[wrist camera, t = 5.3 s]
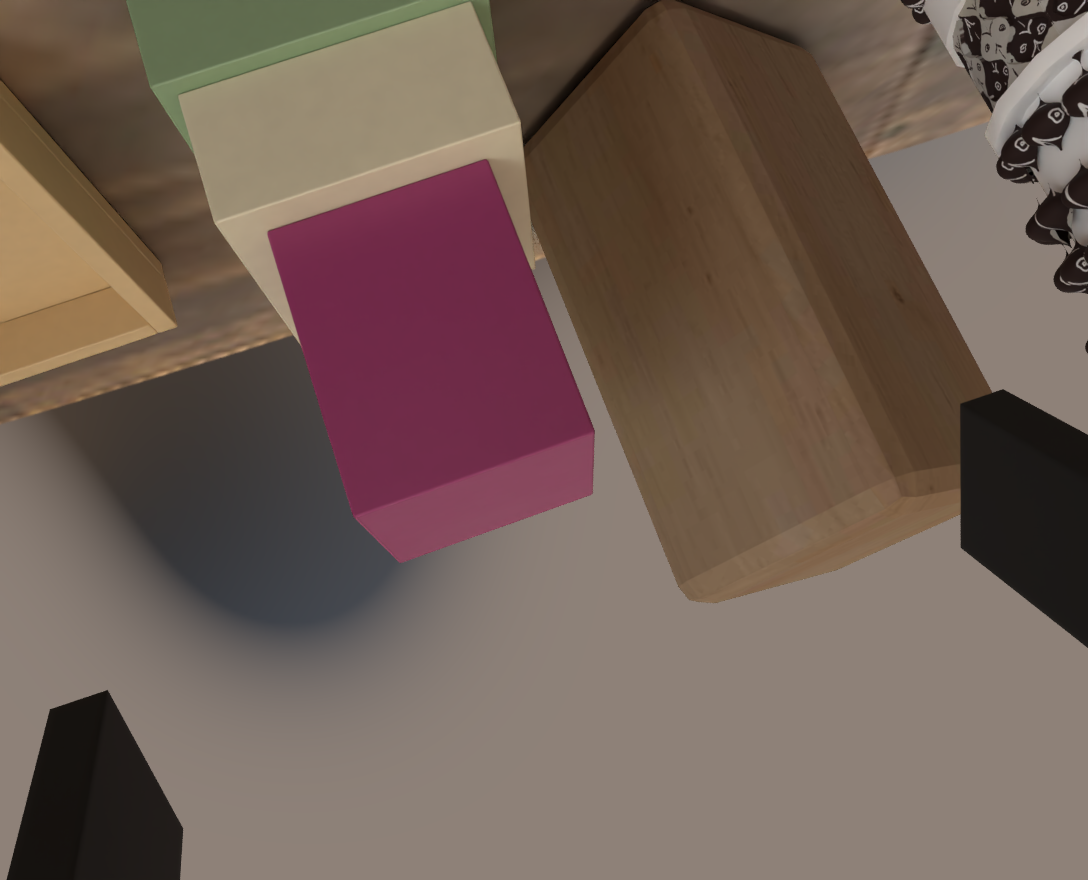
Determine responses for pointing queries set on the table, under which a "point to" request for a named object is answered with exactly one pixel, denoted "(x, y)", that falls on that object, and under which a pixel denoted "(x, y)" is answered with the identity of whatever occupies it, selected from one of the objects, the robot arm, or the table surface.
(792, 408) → the wooden block
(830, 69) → the table surface
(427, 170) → the cream block
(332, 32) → the sage block
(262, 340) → the table surface
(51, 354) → the tray
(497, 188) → the mulberry block
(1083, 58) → the leaning tower model
